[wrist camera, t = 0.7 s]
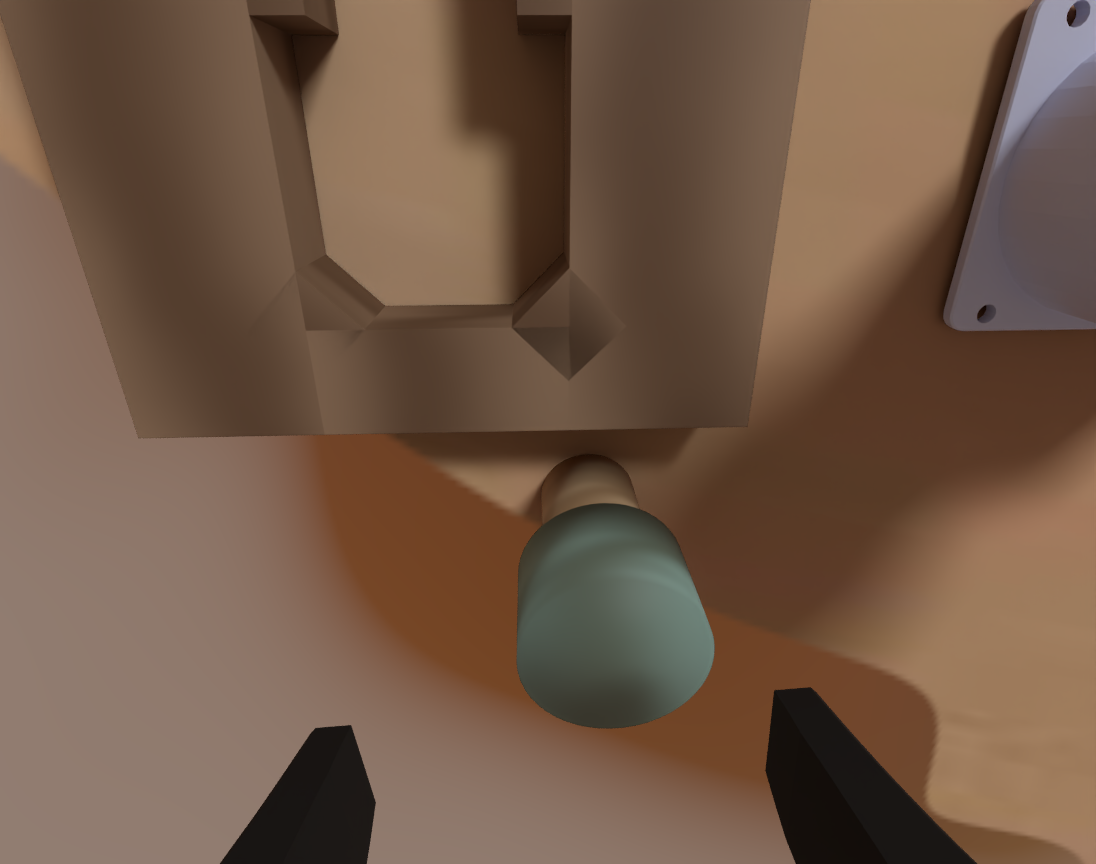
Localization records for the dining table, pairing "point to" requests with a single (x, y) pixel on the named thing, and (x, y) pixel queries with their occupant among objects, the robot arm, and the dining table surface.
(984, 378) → the dining table surface
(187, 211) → the keyhole board
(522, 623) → the peg
